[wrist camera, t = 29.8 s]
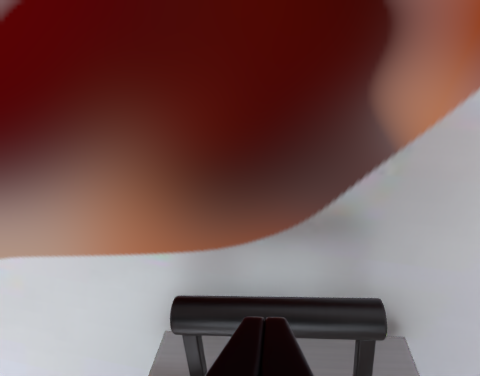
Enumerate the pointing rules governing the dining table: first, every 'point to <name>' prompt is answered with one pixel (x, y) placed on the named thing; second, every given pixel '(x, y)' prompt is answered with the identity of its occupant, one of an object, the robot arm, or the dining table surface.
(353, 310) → the grey pull-out drawer
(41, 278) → the dining table surface
